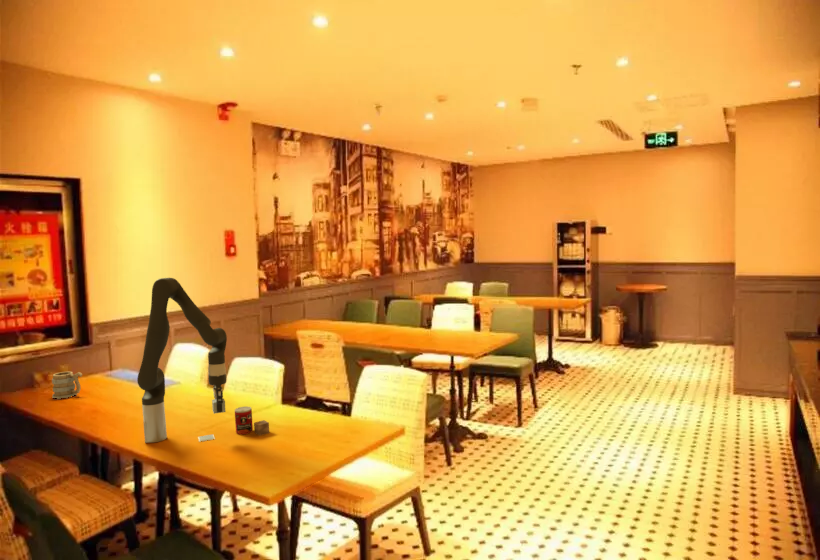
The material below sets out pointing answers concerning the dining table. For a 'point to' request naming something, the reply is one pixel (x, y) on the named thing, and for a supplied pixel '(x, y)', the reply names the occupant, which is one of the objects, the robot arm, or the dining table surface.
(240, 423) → the canned food
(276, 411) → the dining table surface
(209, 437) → the swatch
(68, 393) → the tankard
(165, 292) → the robot arm
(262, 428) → the walnut block
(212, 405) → the light grey cube
